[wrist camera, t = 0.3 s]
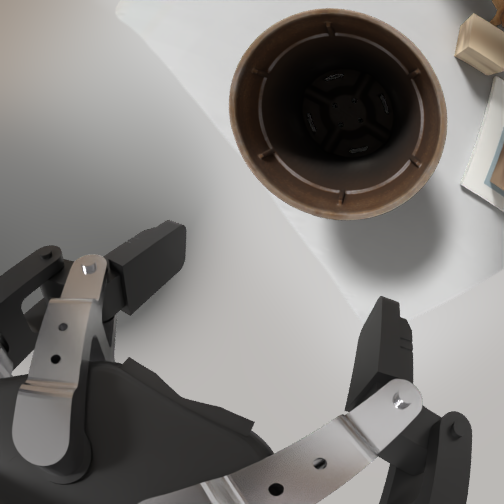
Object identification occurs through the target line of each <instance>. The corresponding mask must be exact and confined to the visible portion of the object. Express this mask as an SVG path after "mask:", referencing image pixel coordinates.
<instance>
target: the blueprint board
mask: <svg viewBox="0 0 504 504" xmlns="http://www.w3.org/2000/svg"><path fill="white" fill-rule="evenodd" d="M503 144H504V81H503V80H502V79H501V78H499V77H498V76H495V77H494V79H493V84H492V88H491V92H490V96H489V100H488V104H487V108H486V111H485V115H484V118H483V121H482V125H481V128H480V131H479V134H478V137H477V140H476V143H475V146H474V149H473V151H472V154H471V157H470V160H469V162H468V165H467V167H466V170H465V172H464V175H463V177H462V180H461V182H460V184H461V185H462V186H464V187H466V188H467V189H469V190H471V191H472V192H474V193H475V194H477V195H479V196H480V197H482V198H483V199H485V200H486V201H488V202H489V203H491V204H492V205H494V206H495V207H497V208H498V209H500V210H501V211H503V212H504V191H503V190H502V189H501V188H499V187H498V186H496V185H495V184H493V183H492V182H490V179H491V177H492V174H493V171H494V169H495V166H496V164H497V161H498V158H499V155H500V152H501V150H502V147H503Z"/></svg>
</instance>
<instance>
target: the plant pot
mask: <svg viewBox="0 0 504 504" xmlns="http://www.w3.org/2000/svg"><path fill="white" fill-rule="evenodd" d="M334 74H345V75H344V76H343V77H340V78H336V79H333V80H330V81H325V77H328V76H330V75H334ZM380 94H382V95H384V97H385V99H386V102H387V105H388V110H389V114H386V113H385V111H384V106H383V103H382V101H381V99H380V97H379V96H380ZM352 98H355V99H356V100H357V102H356V103H353V102H352ZM333 103H336V104H337V107H336V108H333V107H332V104H333ZM308 113H310V114H311V116H312V120H313V123H314V125H315V127H316V129H317V130H316V131H315V132H314V131H312V129H311V127H310V124H309V121H308V117H307V114H308ZM229 116H230V123H231V127H232V131H233V134H234V137H235V140H236V143H237V146H238V148H239V151H240V153H241V155H242V157H243V159H244V161H245V162H246V164H247V166H248V167H249V168H250V170H251V171H252V173H253V174H254V175H255V176H256V178H257V179H258V180H259V181H260V182H261V183H262V184H263V185H264V186H265V187H266V188H267V189H268V190H269V191H270V192H271V193H273V194H274V195H275V196H277V197H278V198H279V199H281V200H282V201H284V202H285V203H287V204H289V205H290V206H292V207H295V208H297V209H299V210H301V211H303V212H306V213H309V214H312V215H314V216H318V217H322V218H327V219H334V220H359V219H366V218H371V217H375V216H378V215H381V214H384V213H387V212H389V211H391V210H393V209H395V208H397V207H399V206H400V205H402V204H403V203H405V202H406V201H408V200H409V199H411V198H412V197H413V196H414V195H415V194H416V193H417V192H418V191H419V190H420V189H421V188H422V187H423V186H424V185H425V184H426V182H427V181H428V180H429V178H430V177H431V176H432V174H433V173H434V171H435V169H436V167H437V165H438V163H439V160H440V158H441V155H442V152H443V149H444V145H445V140H446V134H447V110H446V104H445V99H444V95H443V91H442V88H441V85H440V83H439V81H438V78H437V76H436V74H435V72H434V70H433V68H432V67H431V65H430V63H429V62H428V60H427V59H426V58H425V56H424V55H423V54H422V52H421V51H420V50H419V49H418V48H417V47H416V46H415V44H414V43H413V42H411V41H410V40H409V39H408V38H407V37H406V36H405V35H403V34H402V33H401V32H399V31H398V30H396V29H395V28H393V27H392V26H390V25H388V24H387V23H385V22H383V21H381V20H379V19H377V18H374V17H372V16H369V15H366V14H363V13H359V12H355V11H351V10H345V9H332V8H326V9H315V10H309V11H305V12H301V13H298V14H295V15H292V16H289V17H287V18H285V19H283V20H281V21H279V22H277V23H275V24H274V25H272V26H271V27H269V28H268V29H267V30H266V31H264V32H263V33H262V34H261V35H259V36H258V37H257V39H256V40H255V41H254V42H253V43H252V44H251V45H250V47H249V48H248V49H247V51H246V52H245V53H244V55H243V56H242V58H241V60H240V62H239V64H238V66H237V68H236V71H235V73H234V76H233V79H232V84H231V88H230V95H229ZM358 118H362V119H363V122H362V123H360V122H358ZM339 122H342V123H343V124H344V126H343V127H340V126H339V125H338V123H339ZM364 146H368V147H369V148H368V149H367V150H366V151H362V152H358V153H349V150H350V149H356V148H361V147H364Z"/></svg>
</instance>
